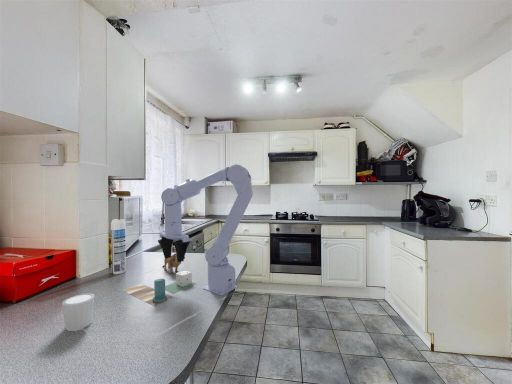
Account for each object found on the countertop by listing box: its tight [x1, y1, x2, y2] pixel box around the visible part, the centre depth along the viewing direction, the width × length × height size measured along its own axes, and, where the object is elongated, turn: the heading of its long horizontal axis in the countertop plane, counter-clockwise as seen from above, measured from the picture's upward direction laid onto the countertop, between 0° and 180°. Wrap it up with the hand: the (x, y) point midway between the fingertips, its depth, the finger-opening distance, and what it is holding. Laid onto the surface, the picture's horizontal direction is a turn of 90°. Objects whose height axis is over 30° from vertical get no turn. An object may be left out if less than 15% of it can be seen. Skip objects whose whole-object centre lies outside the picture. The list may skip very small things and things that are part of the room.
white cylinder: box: [61, 293, 96, 332], centre depth 62 cm, size 7×7×7 cm
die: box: [175, 270, 193, 287], centre depth 88 cm, size 4×4×4 cm
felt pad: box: [165, 281, 197, 295], centre depth 86 cm, size 8×10×1 cm
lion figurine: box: [161, 253, 186, 275], centre depth 102 cm, size 15×5×9 cm, turn 51°
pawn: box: [153, 278, 168, 303], centre depth 76 cm, size 4×4×6 cm
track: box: [121, 283, 175, 307], centre depth 80 cm, size 20×7×1 cm, turn 54°
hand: (174, 259), depth 86 cm, fingers open, 7 cm apart
